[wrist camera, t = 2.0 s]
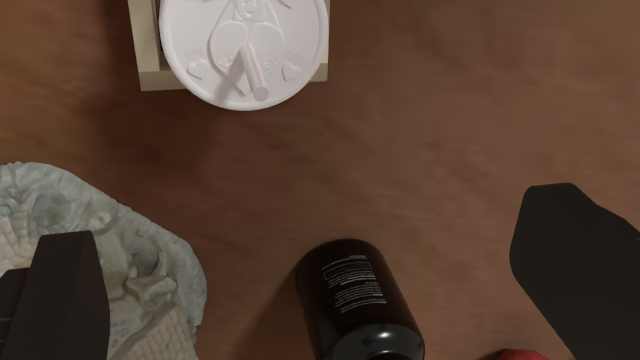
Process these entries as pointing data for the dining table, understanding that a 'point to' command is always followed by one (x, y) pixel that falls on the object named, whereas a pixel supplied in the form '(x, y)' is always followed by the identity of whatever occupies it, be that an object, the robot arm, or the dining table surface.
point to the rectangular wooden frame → (153, 60)
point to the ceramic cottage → (109, 258)
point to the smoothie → (244, 48)
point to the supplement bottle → (355, 305)
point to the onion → (521, 355)
